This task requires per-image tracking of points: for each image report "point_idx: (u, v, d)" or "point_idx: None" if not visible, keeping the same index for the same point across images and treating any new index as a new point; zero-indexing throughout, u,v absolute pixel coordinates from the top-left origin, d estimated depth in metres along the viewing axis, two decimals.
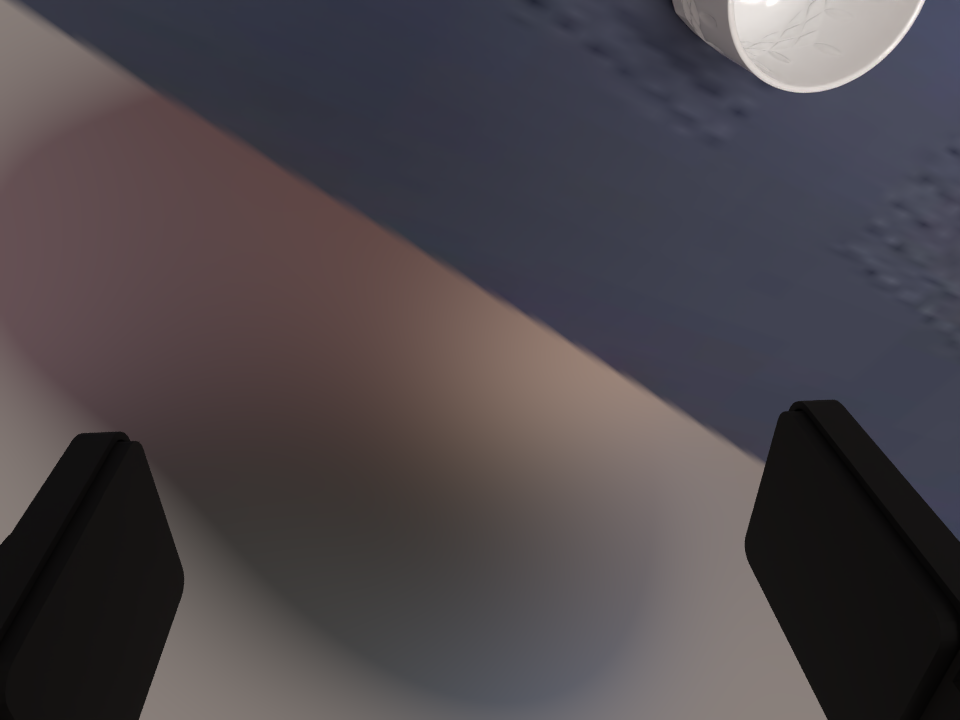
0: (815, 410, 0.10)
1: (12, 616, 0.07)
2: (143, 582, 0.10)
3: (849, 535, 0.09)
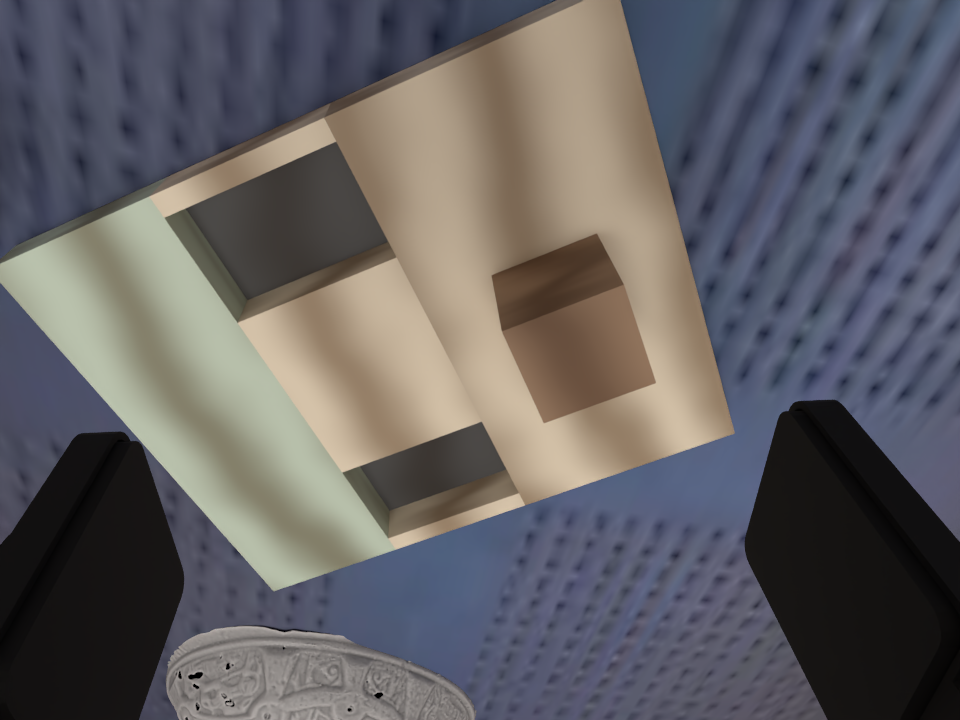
0: (815, 410, 0.10)
1: (12, 616, 0.07)
2: (143, 582, 0.10)
3: (849, 535, 0.09)
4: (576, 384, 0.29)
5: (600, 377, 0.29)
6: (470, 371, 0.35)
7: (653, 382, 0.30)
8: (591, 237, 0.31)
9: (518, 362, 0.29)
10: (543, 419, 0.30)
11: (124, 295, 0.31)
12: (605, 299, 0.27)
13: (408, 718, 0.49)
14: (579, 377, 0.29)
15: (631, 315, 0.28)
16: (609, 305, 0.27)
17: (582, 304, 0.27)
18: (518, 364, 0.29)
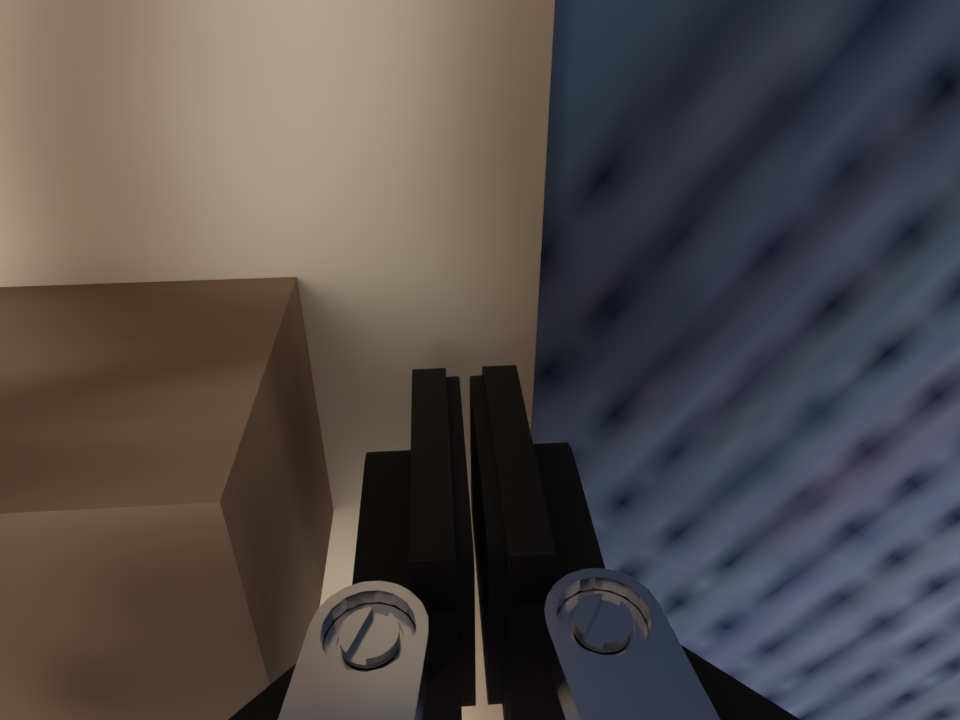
0: (490, 374, 0.11)
1: (452, 504, 0.08)
2: None
3: (479, 483, 0.09)
4: None
5: None
6: None
7: None
8: (275, 282, 0.11)
9: None
10: None
11: None
12: (139, 531, 0.07)
13: None
14: None
15: (237, 600, 0.08)
16: (154, 553, 0.07)
17: (43, 525, 0.07)
18: None
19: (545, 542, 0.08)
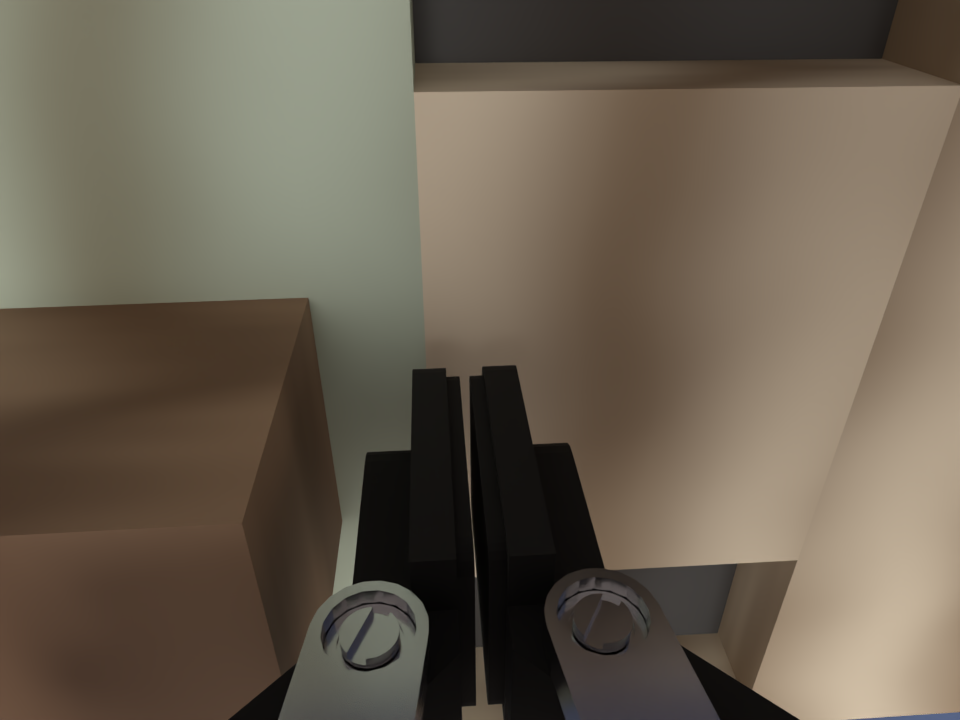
0: (490, 374, 0.11)
1: (452, 505, 0.08)
2: None
3: (478, 483, 0.09)
4: None
5: None
6: (866, 451, 0.14)
7: None
8: (288, 303, 0.11)
9: None
10: None
11: None
12: (165, 551, 0.07)
13: None
14: None
15: (256, 614, 0.08)
16: (179, 570, 0.08)
17: (75, 544, 0.07)
18: None
19: (545, 542, 0.08)
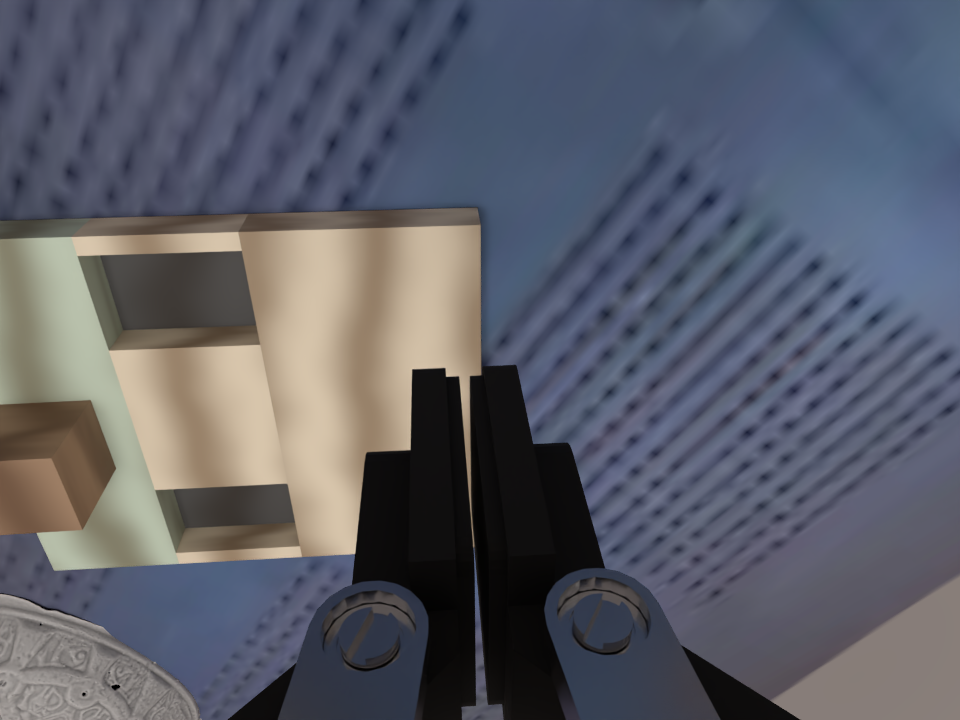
0: (490, 374, 0.11)
1: (451, 504, 0.08)
2: None
3: (479, 483, 0.09)
4: (14, 515, 0.37)
5: (34, 515, 0.37)
6: (290, 444, 0.42)
7: (80, 529, 0.38)
8: (84, 402, 0.39)
9: None
10: None
11: (16, 300, 0.36)
12: (36, 464, 0.36)
13: (136, 713, 0.54)
14: (16, 511, 0.37)
15: (58, 480, 0.36)
16: (40, 468, 0.36)
17: (17, 463, 0.35)
18: None
19: (545, 542, 0.08)
